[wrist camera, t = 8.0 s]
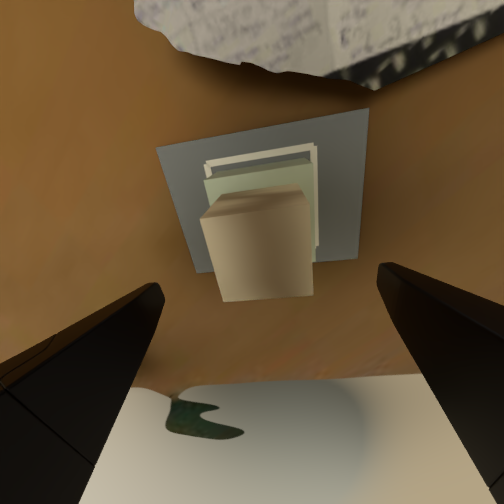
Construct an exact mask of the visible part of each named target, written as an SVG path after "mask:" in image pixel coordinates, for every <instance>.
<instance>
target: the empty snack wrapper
mask: <svg viewBox="0 0 504 504" xmlns="http://www.w3.org/2000/svg"><path fill="white" fill-rule="evenodd" d="M134 13H135V16H136V18H137V20H138V21H139V22H140V23H142V24H143V25H145V26H147V27H149V28H151V29H153V30H156V31H160V32H162V33H163V34H164V35H165V36H166V37H167V38H168V40H169V41H170V43H171V44H172V45H173V46H174V47H175V48H176V49H177V50H178V51H184V52H189V53H191V54H193V55H198V56H202V57H207V58H212V59H216V60H219V61H223V62H227V63H232V64H238V65H240V64H241V62H250V63H253V64H255V65H258V66H260V67H262V68H265V69H266V70H268V71H271V72H275V73H280V72H285V71H292V72H299V73H305V74H310V75H314V76H322V77H325V78H327V79H345V80H349V81H352V82H354V83H356V84H359V85H361V86H364V87H367V88H369V89H372V90H374V91H375V90H377V89H379V88H382V87H384V86H386V85H388V84H391V83H393V82H395V81H397V80H400V79H402V78H404V77H406V76H409V75H411V74H413V73H415V72H418V71H420V70H422V69H424V68H427V67H429V66H431V65H433V64H436V63H438V62H440V61H442V60H444V59H447V58H449V57H451V56H453V55H456V54H458V53H460V52H462V51H464V50H467V49H469V48H471V47H473V46H476V45H478V44H480V43H482V42H485V41H487V40H489V39H491V38H493V37H496V36H498V35H500V34H502V33H504V0H134Z"/></svg>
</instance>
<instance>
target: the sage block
mask: <svg viewBox="0 0 504 504" xmlns="http://www.w3.org/2000/svg"><path fill="white" fill-rule="evenodd" d="M203 181H204V185H205V189H206V192H207V196H208V200H209V204H210V207H211V206H212V204H213V203H214V202H215V201H216V200H217V199H218V198H219V197H220V195H221V194H226V193H233V192H239V191H246V190H252V189H259V188H266V187H272V186H279V185H286V184H292V183H298V185H299V186H300V188H301V190H302V191H303V193H304V195H305V197H306V198H307V200H308V202H309V204H310V222H311V246H312V262H316V252H315V213H314V174H313V163H312V162H311V161H309V160H307V159H306V158H299V159H293V160H287V161H281V162H275V163H268V164H262V165H256V166H250V167H244V168H238V169H231V170H225V171H219V172H216V173H214V174H213V175H211V176H210V177H208V178H206V179H205V180H203Z"/></svg>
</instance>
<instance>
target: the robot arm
mask: <svg viewBox="0 0 504 504" xmlns="http://www.w3.org/2000/svg"><path fill="white" fill-rule="evenodd" d="M377 287H378V290H379V292H380V294H381V297H382V299H383V301H384V304H385V306H386V308H387V311H388V313H389V315H390V318H391V320H392V322H393V324H394V326H395V328H396V329H397V331H398V333H399V335H400V336H401V338H402V340H403V341H404V343H405V345H406V347H407V348H408V350H409V352H410V354H411V355H412V357H413V359H414V360H415V362H416V364H417V366H418V367H419V369H420V371H421V373H422V374H423V376H424V378H425V379H426V381H427V383H428V385H429V386H430V388H431V390H432V391H433V393H434V395H435V397H436V398H437V400H438V402H439V404H440V405H441V407H442V409H443V411H444V412H445V414H446V416H447V418H448V419H449V421H450V423H451V424H452V426H453V428H454V430H455V431H456V433H457V435H458V437H459V438H460V440H461V442H462V444H463V445H464V447H465V448H466V450H467V452H468V454H469V456H470V457H471V459H472V460H473V462H474V464H475V466H476V468H477V469H478V471H479V473H480V475H481V476H482V478H483V480H484V482H485V483H486V485H487V486H488V487H489V491H490V492H491V494H492V496H493V497H494V499H495V501H496V503H497V504H504V306H503V305H500V304H498V303H495V302H493V301H490V300H488V299H485V298H483V297H480V296H477V295H475V294H472V293H470V292H467V291H465V290H462V289H460V288H457V287H454V286H452V285H449V284H447V283H444V282H442V281H439V280H437V279H434V278H431V277H429V276H426V275H424V274H421V273H419V272H416V271H414V270H411V269H408V268H406V267H403V266H401V265H398V264H396V263H393V262H387V263H381V264H379V267H378V274H377ZM164 303H165V297H164V294H163V292H162V290H161V288H160V285H159V284H158V283H156V282H154V283H147V284H145V285H143V286H141V287H140V288H138V289H136V290H134V291H132V292H131V293H129V294H127V295H125V296H123V297H122V298H120V299H118V300H116V301H114V302H113V303H111V304H109V305H107V306H105V307H104V308H102V309H100V310H98V311H96V312H94V313H93V314H91V315H89V316H87V317H85V318H84V319H82V320H80V321H78V322H76V323H75V324H73V325H71V326H69V327H67V328H66V329H64V330H62V331H60V332H58V333H57V334H55V335H53V336H51V337H49V338H47V339H46V340H44V341H42V342H40V343H38V344H36V345H35V346H33V347H31V348H29V349H27V350H25V351H23V352H22V353H20V354H18V355H16V356H14V357H12V358H10V359H8V360H6V361H4V362H2V363H0V504H79V501H80V499H81V497H82V495H83V492H84V490H85V488H86V485H87V484H88V481H89V479H90V477H91V475H92V472H93V470H94V468H95V465H96V463H97V461H98V459H99V456H100V454H101V452H102V450H103V447H104V445H105V443H106V441H107V438H108V436H109V434H110V431H111V429H112V427H113V425H114V423H115V420H116V418H117V416H118V414H119V412H120V409H121V407H122V405H123V403H124V400H125V398H126V396H127V394H128V392H129V389H130V387H131V385H132V383H133V380H134V378H135V376H136V374H137V371H138V369H139V367H140V365H141V362H142V360H143V358H144V356H145V354H146V351H147V349H148V347H149V345H150V342H151V340H152V338H153V335H154V333H155V330H156V327H157V324H158V321H159V318H160V315H161V312H162V309H163V306H164Z"/></svg>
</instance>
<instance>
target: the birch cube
mask: <svg viewBox="0 0 504 504" xmlns="http://www.w3.org/2000/svg"><path fill="white" fill-rule="evenodd" d="M200 223H201V226H202V229H203V233H204V236H205V240H206V243H207V247H208V250H209V254H210V257H211V261H212V264H213V268H214V271H215V275H216V278H217V282H218V285H219V289H220V292H221V295H222V299H223V302H232V301H246V300H259V299H273V298H286V297H300V296H313V271H312V246H311V222H310V204H309V202H308V200H307V198H306V197H305V195H304V193H303V191H302V190H301V188H300V186H299V185H298V183H292V184H286V185H279V186H272V187H266V188H259V189H252V190H246V191H239V192H233V193H226V194H221V195H220V197H219V198H218V199H217V200H216V201H215V202H214V203H213V204H212V206H211V207H210V208H209V209H208V210H207V211H206V212H205V213H204V215H203V216H202V217H201V218H200Z"/></svg>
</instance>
